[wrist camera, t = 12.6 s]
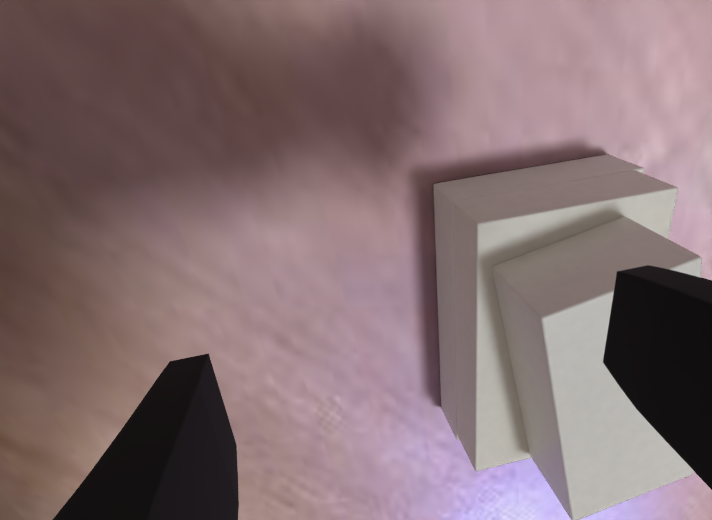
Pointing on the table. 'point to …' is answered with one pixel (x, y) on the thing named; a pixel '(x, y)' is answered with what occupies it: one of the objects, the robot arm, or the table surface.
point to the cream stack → (505, 242)
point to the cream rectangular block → (584, 365)
